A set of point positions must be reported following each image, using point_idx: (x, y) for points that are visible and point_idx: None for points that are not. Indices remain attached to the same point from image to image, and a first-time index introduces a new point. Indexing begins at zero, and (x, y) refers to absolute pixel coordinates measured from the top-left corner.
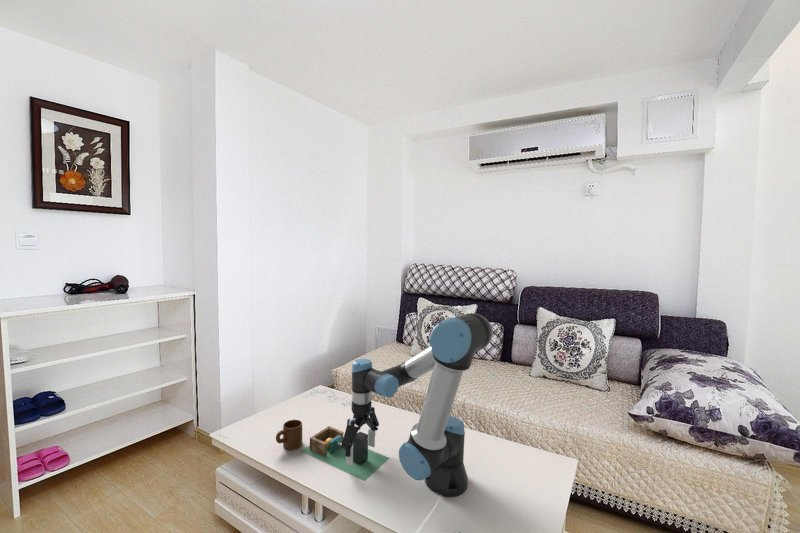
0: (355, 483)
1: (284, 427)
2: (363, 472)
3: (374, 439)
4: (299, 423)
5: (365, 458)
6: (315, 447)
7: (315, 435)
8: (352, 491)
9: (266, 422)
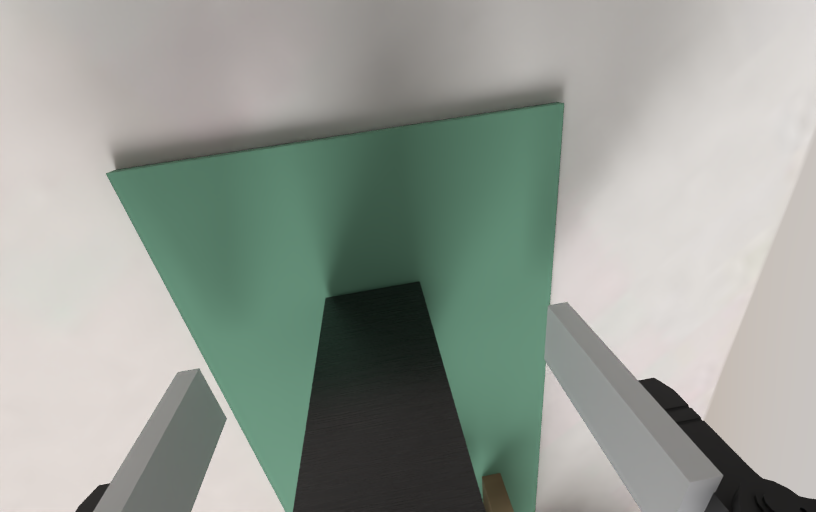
0: (606, 154)
1: None
2: (474, 201)
3: (138, 452)
4: None
5: (360, 308)
6: None
7: None
8: (703, 96)
9: None
